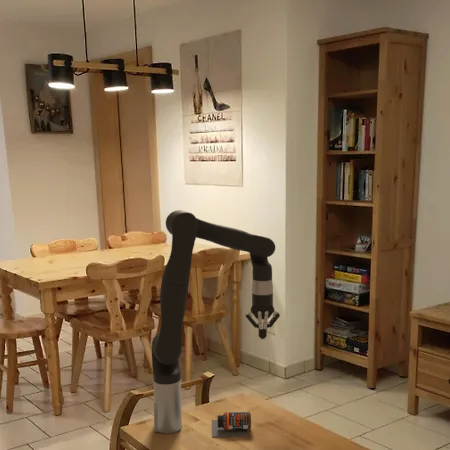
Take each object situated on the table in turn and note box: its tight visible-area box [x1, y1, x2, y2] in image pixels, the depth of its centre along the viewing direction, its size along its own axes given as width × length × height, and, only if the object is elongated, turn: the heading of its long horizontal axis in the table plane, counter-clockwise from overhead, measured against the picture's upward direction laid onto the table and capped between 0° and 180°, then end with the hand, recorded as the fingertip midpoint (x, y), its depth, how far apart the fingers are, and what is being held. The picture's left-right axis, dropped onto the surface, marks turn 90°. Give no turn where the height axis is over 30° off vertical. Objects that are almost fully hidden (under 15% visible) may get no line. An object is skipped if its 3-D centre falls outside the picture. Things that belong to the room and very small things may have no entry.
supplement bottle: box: [216, 411, 252, 431], centre depth 190 cm, size 6×6×11 cm
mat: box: [211, 419, 249, 439], centre depth 192 cm, size 12×12×1 cm
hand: (262, 338), depth 204 cm, fingers closed
